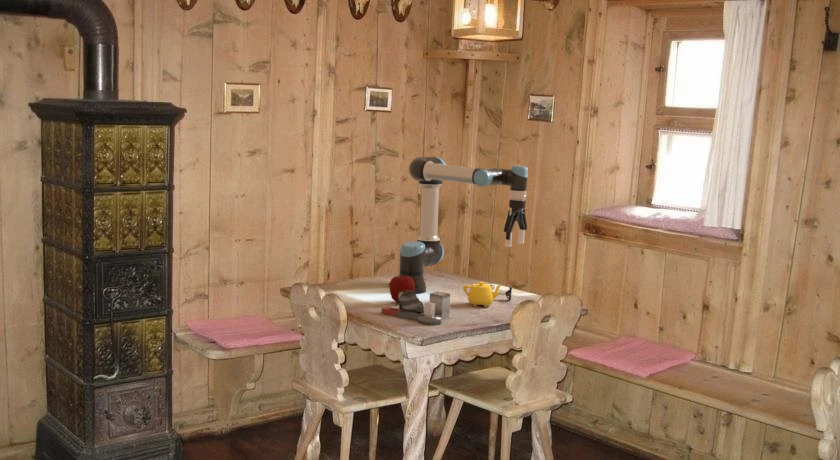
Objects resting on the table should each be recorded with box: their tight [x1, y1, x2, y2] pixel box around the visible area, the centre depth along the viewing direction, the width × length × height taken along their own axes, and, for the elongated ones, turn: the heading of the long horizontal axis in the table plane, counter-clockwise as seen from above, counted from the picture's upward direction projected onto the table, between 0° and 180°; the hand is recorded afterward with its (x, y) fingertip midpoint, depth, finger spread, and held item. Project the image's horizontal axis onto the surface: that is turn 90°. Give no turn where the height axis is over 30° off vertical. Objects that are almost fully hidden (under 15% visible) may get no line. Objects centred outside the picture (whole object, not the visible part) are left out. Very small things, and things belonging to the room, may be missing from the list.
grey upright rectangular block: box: [428, 291, 451, 320], centre depth 361 cm, size 6×6×10 cm
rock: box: [398, 290, 425, 314], centre depth 368 cm, size 14×11×10 cm
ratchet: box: [380, 301, 443, 326], centre depth 356 cm, size 28×10×8 cm, turn 58°
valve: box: [489, 284, 513, 301], centre depth 401 cm, size 7×7×12 cm
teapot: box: [462, 281, 503, 308], centre depth 387 cm, size 18×11×11 cm, turn 87°
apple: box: [388, 275, 415, 305], centre depth 383 cm, size 12×12×13 cm
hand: (514, 245), depth 392 cm, fingers open, 13 cm apart
